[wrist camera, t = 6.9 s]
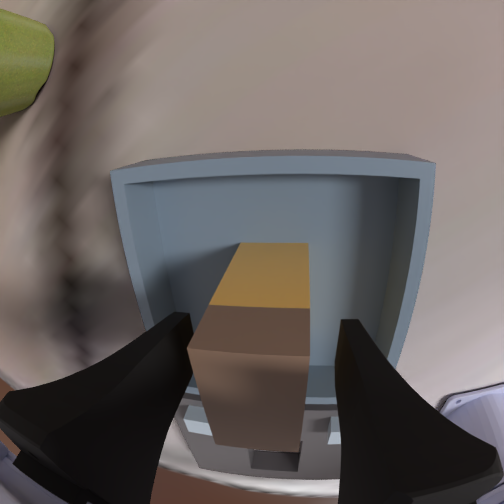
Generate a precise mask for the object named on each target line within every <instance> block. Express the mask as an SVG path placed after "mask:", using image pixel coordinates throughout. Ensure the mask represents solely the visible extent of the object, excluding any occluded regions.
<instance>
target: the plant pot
mask: <svg viewBox="0 0 504 504" xmlns="http://www.w3.org/2000/svg"><path fill="white" fill-rule="evenodd" d="M53 56H54V37H53V34H52V33H51V32H50V31H49V29H48V28H47V27H46V25H45V24H43V23H40V22H38V21H35V20H32V19H30V18H27V17H24V16H21V15H18V14H15V13H12V12H9V11H6V10H3V9H0V117H2V116H5V115H8V114H11V113H14V112H17V111H21V110H23V109H25V108H27V107H28V106H30V105H31V104H32V103H33V102H34V100H35V96H36V94H37V92H38V90H39V89H40V88H41V86H42V85H43V84H44V83H45V82H46V80H47V78H48V75H49V72H50V69H51V65H52V61H53Z"/></svg>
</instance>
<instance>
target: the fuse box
mask: <svg viewBox="0 0 504 504" xmlns="http://www.w3.org/2000/svg"><path fill="white" fill-rule="evenodd" d="M174 416H175V418H176V420H177V423H178V425H179V427H180V429H181V431H182V434H183V436H184V438H185V440H186V442H187V444H188V446H189V448H190V450H191V452H192V454H193V456H194V458H195V460H196V462H197V464H198V466H199V468H202V469H207V470H213V471H218V472H225V473H231V474H238V475H246V476H255V477H266V478H279V479H303V480H327V479H340V469H341V436H340V427H339V418H338V409H337V404H305V409H304V418H303V425H302V433H301V440H300V441H301V446H300V452H299V453H280V452H266V451H255V450H254V449H246V448H238V447H230V446H223V445H217V444H215V442H214V439H213V436H212V433H211V430H210V427H209V423H208V420H207V417H206V414H205V411H204V407H203V404H202V401H201V398H200V395H198V394H191V393H185V394H184V396H183V398H182V400H181V402H180V404H179V407H178V409H177V411H176V413H175V415H174Z"/></svg>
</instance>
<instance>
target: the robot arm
mask: <svg viewBox="0 0 504 504" xmlns="http://www.w3.org/2000/svg"><path fill="white" fill-rule="evenodd" d="M193 335H194V332H193V327H192V322H191V317H190V313H186V312H173V313H171V314H170V315H168V316H167V317H166V318H164V319H163V320H161V321H160V322H159V323H157V324H156V325H155V326H153V327H152V328H150V329H149V330H148V331H146V332H145V333H144V334H142V335H141V336H139V337H138V338H137V339H135V340H134V341H132V342H131V343H129V344H128V345H126V346H125V347H123V348H122V349H120V350H118V351H117V352H115V353H114V354H112V355H111V356H109V357H107V358H105V359H104V360H102V361H100V362H98V363H96V364H94V365H92V366H90V367H88V368H86V369H84V370H82V371H79V372H77V373H75V374H72V375H70V376H67V377H65V378H62V379H59V380H56V381H53V382H50V383H47V384H43V385H40V386H36V387H31V388H26V389H21V390H16V391H9V392H8V393H7V394H6V396H5V397H4V398H3V399H2V401H1V402H0V428H1V430H2V431H3V432H4V433H5V434H6V435H7V436H8V437H9V438H10V439H11V440H12V442H13V443H14V444H15V445H16V446H17V447H18V448H19V449H20V450H21V451H20V453H19V454H18V456H16V455H14V454H13V453H12V452H10V451H9V450H8V448H7V447H6V446H5V445H4V444H3V443H2V442H1V441H0V504H150V499H151V492H152V488H153V483H154V479H155V475H156V470H157V466H158V463H159V459H160V455H161V452H162V448H163V445H164V442H165V439H166V435H167V432H168V430H169V427H170V424H171V422H172V420H173V418H174V415H175V413H176V411H177V409H178V407H179V404H180V402H181V400H182V398H183V396H184V394H185V391H186V389H187V387H188V385H189V382H190V380H191V378H192V375H193V369H192V366H191V362H190V358H189V354H188V351H187V347H188V345H189V343H190V341H191V339H192V337H193ZM334 366H335V392H336V401H337V409H338V418H339V427H340V436H341V469H340V485H339V497H338V504H504V384H501V385H498V386H494V387H490V388H486V389H481V390H477V391H473V392H468V393H463V394H458V395H453V396H451V397H449V398H448V399H447V401H446V403H445V404H444V406H443V408H442V409H441V411H440V412H438V411H437V410H436V409H435V408H433V407H432V406H431V405H430V404H429V403H427V402H426V401H425V400H424V399H423V398H422V397H421V396H420V395H419V394H418V393H417V392H416V391H415V390H414V389H413V388H412V387H411V386H410V385H409V384H408V383H407V382H406V381H405V380H404V379H403V378H402V377H401V375H400V374H399V373H398V372H397V371H396V370H395V368H394V367H393V366H392V365H391V364H390V362H389V361H388V360H387V358H386V357H385V356H384V354H383V353H382V352H381V351H380V349H379V348H378V346H377V345H376V344H375V342H374V341H373V339H372V338H371V337H370V335H369V334H368V332H367V331H366V329H365V328H364V326H363V325H362V323H361V322H360V320H359V319H341V321H340V329H339V336H338V342H337V349H336V355H335V361H334Z"/></svg>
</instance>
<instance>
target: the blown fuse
mask: <svg viewBox="0 0 504 504" xmlns="http://www.w3.org/2000/svg"><path fill="white" fill-rule="evenodd" d="M187 351H188V354H189V358H190V362H191V366H192V369H193V373H194V377H195V380H196V384H197V387H198V391H199V394H200V398H201V401H202V404H203V407H204V411H205V414H206V417H207V420H208V423H209V427H210V430H211V433H212V436H213V439H214V442H215V444H217V445H223V446H230V447H238V448H246V449H256V450H267V451H282V452H299V447H300V440H301V433H302V425H303V418H304V409H305V401H306V392H307V382H308V372H309V362H310V277H309V247H308V243H240V245H239V247H238V249H237V251H236V253H235V254H234V256H233V258H232V260H231V262H230V264H229V266H228V268H227V270H226V272H225V274H224V276H223V278H222V280H221V282H220V284H219V286H218V287H217V289H216V291H215V293H214V295H213V297H212V299H211V301H210V303H209V305H208V307H207V309H206V311H205V313H204V315H203V317H202V319H201V321H200V323H199V325H198V327H197V329H196V331H195V333H194V335H193V337H192V339H191V341H190V343H189V345H188V347H187Z"/></svg>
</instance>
